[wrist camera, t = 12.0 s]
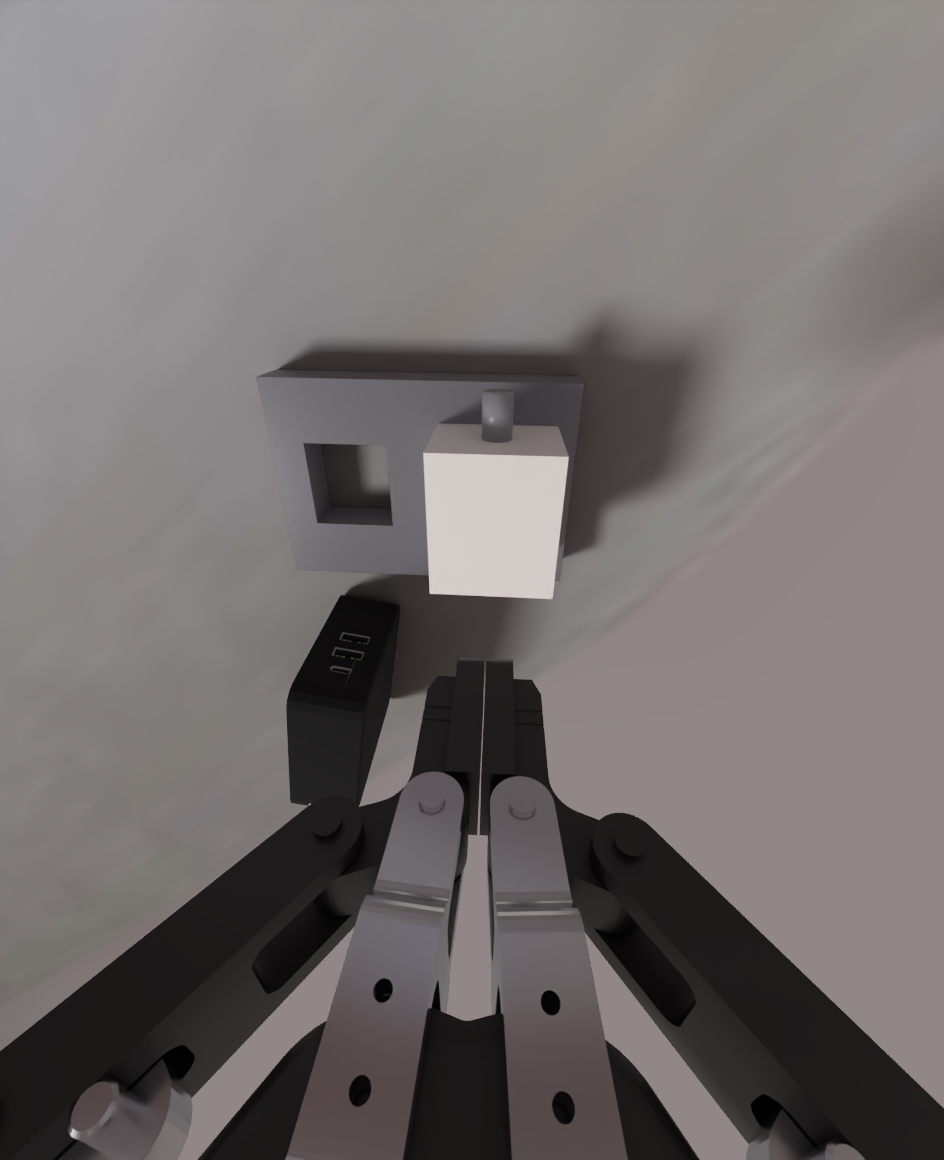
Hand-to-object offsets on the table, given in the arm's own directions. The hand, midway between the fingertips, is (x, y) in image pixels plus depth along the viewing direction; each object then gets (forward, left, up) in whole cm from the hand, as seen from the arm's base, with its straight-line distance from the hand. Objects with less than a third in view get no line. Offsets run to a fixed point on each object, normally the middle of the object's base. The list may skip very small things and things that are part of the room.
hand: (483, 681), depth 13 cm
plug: (0, 0, -17) cm, 17 cm away
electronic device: (+14, -9, -18) cm, 24 cm away
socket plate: (0, -4, -17) cm, 18 cm away
